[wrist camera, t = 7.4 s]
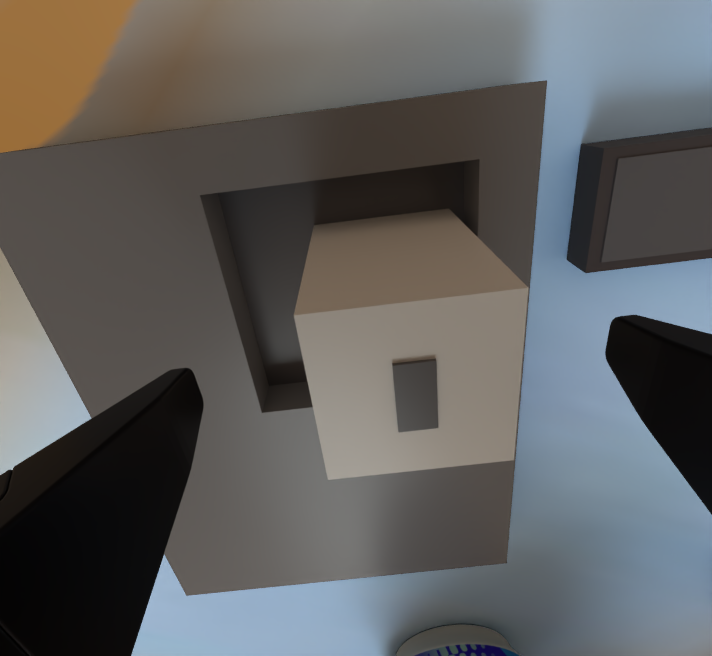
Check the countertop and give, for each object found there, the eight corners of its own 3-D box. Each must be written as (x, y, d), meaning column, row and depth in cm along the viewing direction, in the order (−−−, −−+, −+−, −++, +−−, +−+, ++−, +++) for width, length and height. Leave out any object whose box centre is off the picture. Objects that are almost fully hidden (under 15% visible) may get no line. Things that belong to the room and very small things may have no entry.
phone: (785, 233, 14) (824, 244, 12) (566, 259, 14) (586, 273, 13) (830, 111, 12) (880, 113, 11) (581, 144, 12) (605, 148, 11)
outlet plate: (491, 522, 20) (506, 563, 18) (199, 552, 20) (186, 595, 19) (515, 83, 11) (547, 80, 10) (11, 151, 12) (-47, 160, 10)
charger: (449, 327, 14) (515, 463, 9) (333, 341, 14) (327, 483, 9) (448, 208, 12) (530, 289, 7) (314, 225, 12) (293, 317, 7)
